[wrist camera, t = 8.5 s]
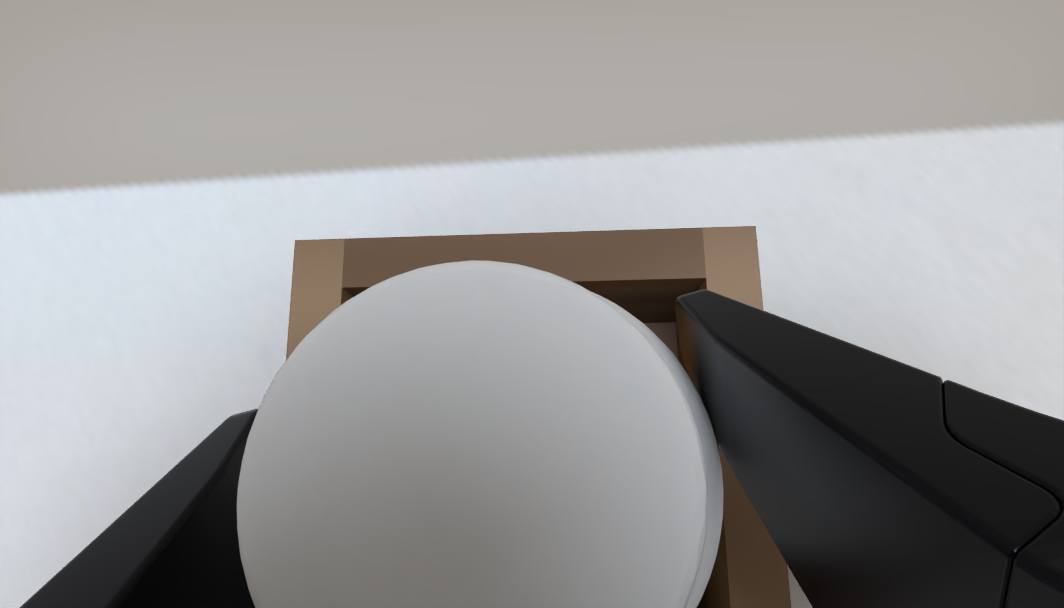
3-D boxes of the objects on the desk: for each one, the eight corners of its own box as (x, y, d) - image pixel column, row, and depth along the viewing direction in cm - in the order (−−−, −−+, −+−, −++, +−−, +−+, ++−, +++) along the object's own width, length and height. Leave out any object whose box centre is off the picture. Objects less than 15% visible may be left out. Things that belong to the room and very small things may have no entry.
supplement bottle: (488, 318, 16) (357, 92, 7) (702, 426, 15) (905, 344, 6) (370, 532, 15) (17, 627, 6) (591, 663, 14) (614, 1040, 5)
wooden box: (738, 674, 15) (804, 757, 11) (345, 672, 16) (256, 750, 11) (709, 288, 18) (755, 226, 13) (364, 297, 18) (295, 240, 14)
